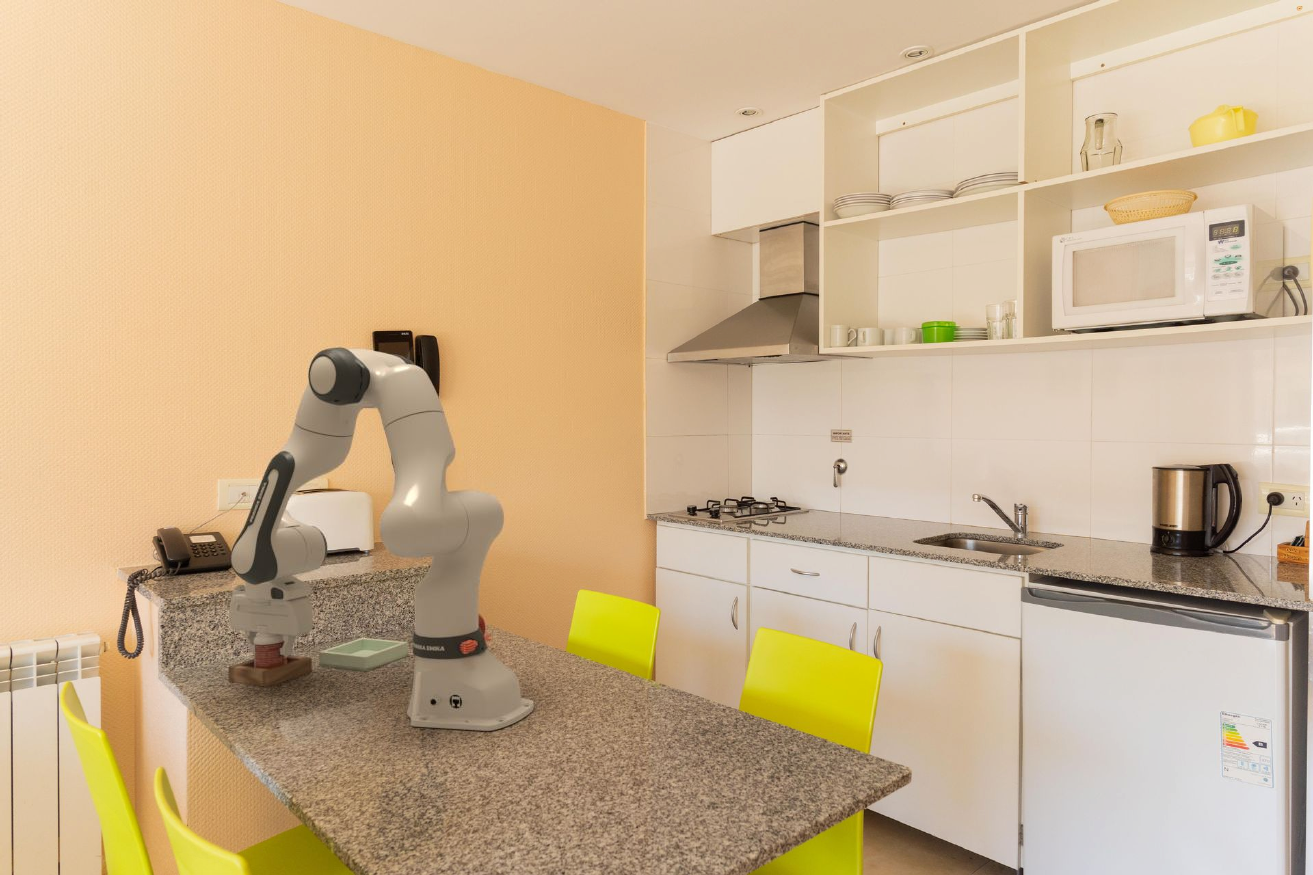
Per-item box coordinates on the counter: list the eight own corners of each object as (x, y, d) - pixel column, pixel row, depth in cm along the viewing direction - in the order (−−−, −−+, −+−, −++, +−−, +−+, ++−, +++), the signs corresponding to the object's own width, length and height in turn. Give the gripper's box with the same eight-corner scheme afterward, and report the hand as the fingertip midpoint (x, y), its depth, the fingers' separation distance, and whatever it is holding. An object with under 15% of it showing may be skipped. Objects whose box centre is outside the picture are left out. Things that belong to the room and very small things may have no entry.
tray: (407, 655, 182) (407, 642, 182) (366, 671, 170) (365, 657, 170) (362, 650, 187) (362, 637, 187) (319, 665, 175) (319, 651, 175)
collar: (311, 671, 170) (311, 657, 170) (268, 687, 160) (268, 672, 160) (273, 666, 175) (273, 653, 175) (228, 681, 165) (228, 666, 165)
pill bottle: (292, 676, 167) (290, 623, 167) (260, 683, 163) (259, 628, 163) (281, 670, 172) (280, 618, 172) (250, 677, 168) (249, 623, 168)
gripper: (219, 586, 169) (221, 653, 169) (292, 592, 161) (294, 662, 161) (245, 581, 174) (247, 645, 174) (317, 586, 166) (319, 654, 166)
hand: (270, 653), depth 168 cm, fingers open, 7 cm apart
